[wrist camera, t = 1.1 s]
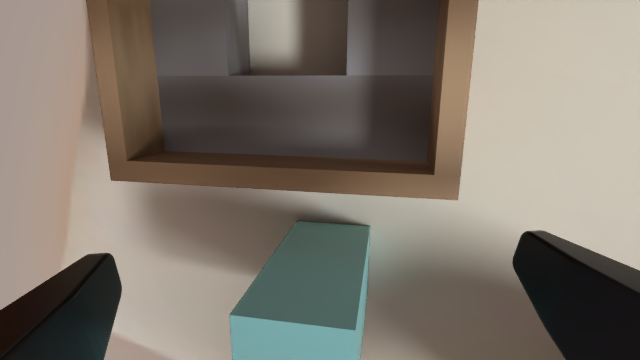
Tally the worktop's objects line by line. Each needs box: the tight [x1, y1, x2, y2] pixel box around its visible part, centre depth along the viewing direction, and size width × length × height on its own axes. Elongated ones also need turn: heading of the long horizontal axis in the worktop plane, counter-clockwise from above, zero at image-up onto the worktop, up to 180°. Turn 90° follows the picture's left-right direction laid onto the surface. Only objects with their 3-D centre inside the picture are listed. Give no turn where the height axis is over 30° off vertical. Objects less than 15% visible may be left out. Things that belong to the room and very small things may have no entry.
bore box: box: [86, 0, 478, 200], centre depth 17 cm, size 16×16×6 cm
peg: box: [230, 221, 370, 360], centre depth 18 cm, size 5×5×10 cm
